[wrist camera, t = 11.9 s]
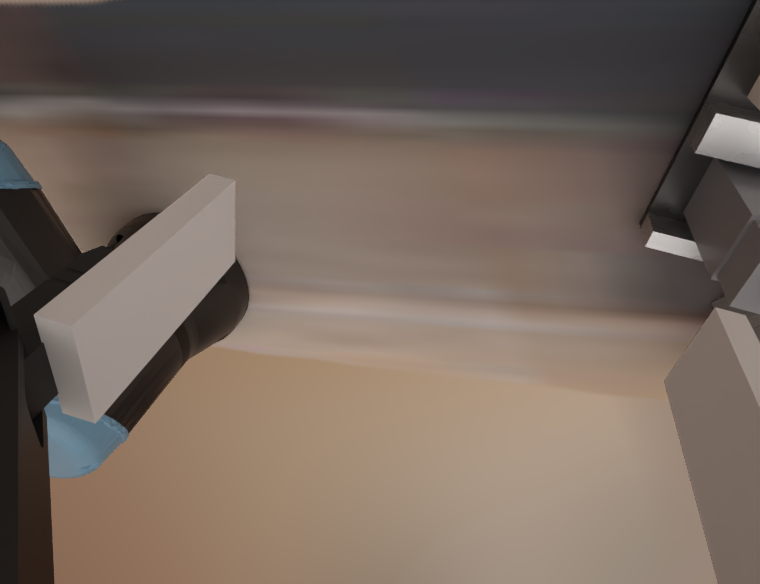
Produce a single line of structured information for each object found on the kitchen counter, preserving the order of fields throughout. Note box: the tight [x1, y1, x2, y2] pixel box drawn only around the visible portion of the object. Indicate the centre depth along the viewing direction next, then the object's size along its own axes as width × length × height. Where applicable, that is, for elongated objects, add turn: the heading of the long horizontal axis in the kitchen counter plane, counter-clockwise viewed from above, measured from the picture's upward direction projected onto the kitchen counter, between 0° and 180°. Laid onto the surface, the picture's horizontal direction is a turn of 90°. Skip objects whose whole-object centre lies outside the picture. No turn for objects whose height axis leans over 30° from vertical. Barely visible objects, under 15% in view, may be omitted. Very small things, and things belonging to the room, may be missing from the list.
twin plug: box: [683, 158, 760, 314], centre depth 33 cm, size 4×4×14 cm
